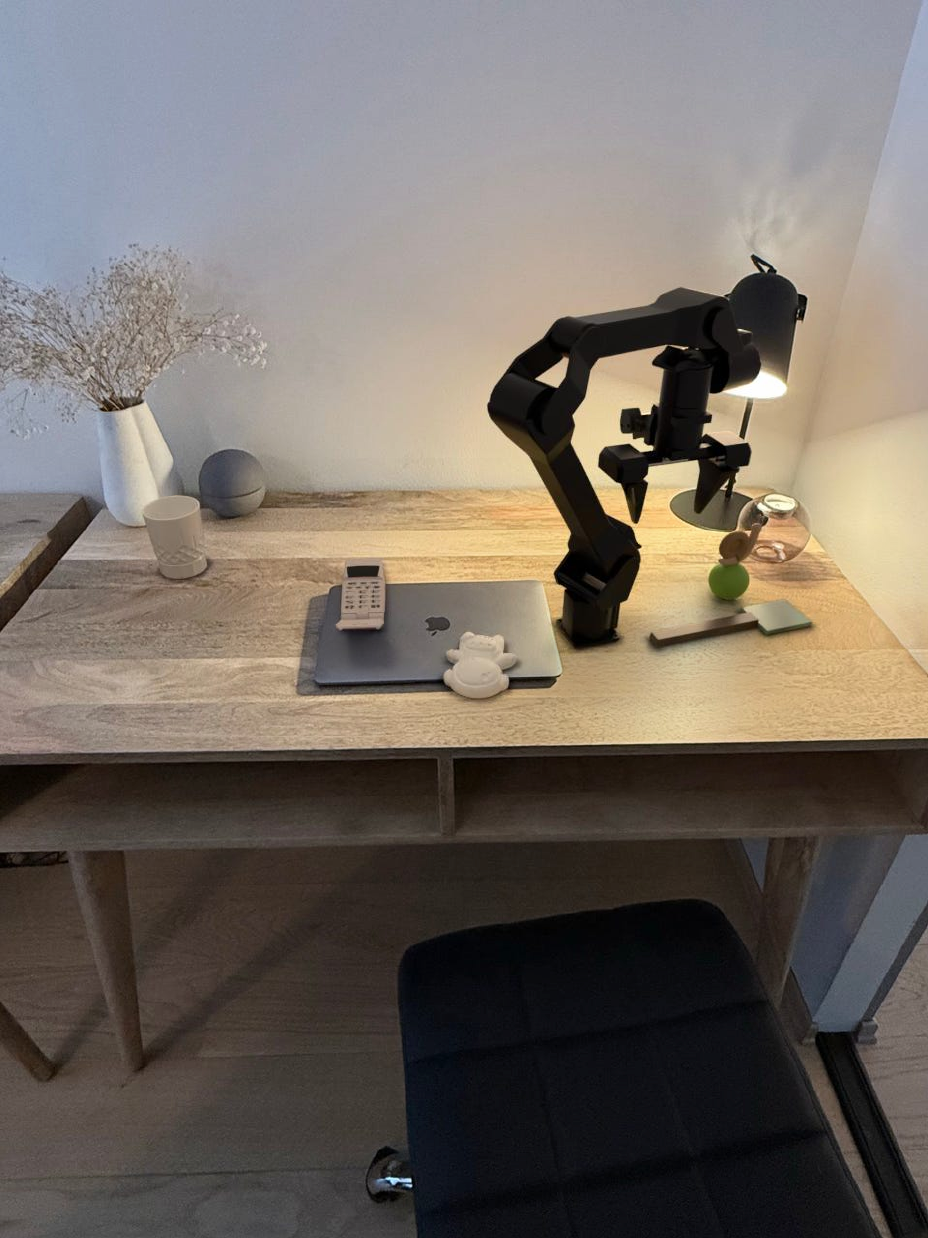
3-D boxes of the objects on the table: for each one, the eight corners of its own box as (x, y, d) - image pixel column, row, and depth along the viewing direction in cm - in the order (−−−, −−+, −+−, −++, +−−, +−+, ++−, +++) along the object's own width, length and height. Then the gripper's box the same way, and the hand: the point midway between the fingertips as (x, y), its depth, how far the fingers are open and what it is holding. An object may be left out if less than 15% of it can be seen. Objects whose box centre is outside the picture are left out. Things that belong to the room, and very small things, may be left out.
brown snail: (759, 600, 115) (777, 523, 109) (721, 610, 113) (737, 532, 106) (734, 582, 119) (750, 506, 113) (697, 591, 117) (711, 515, 111)
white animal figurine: (522, 646, 106) (523, 626, 104) (503, 703, 96) (504, 683, 95) (456, 636, 108) (456, 617, 106) (431, 692, 98) (430, 672, 97)
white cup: (145, 575, 121) (129, 514, 116) (179, 551, 127) (166, 491, 122) (189, 586, 119) (175, 523, 113) (222, 560, 125) (210, 500, 119)
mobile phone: (334, 628, 99) (342, 530, 120) (337, 667, 102) (344, 566, 123) (384, 626, 100) (383, 529, 120) (386, 665, 103) (385, 564, 124)
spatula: (664, 656, 104) (666, 648, 104) (642, 630, 109) (643, 623, 108) (811, 626, 110) (813, 618, 109) (783, 603, 115) (785, 595, 114)
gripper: (714, 373, 108) (696, 483, 117) (584, 388, 103) (575, 501, 112) (765, 401, 99) (741, 517, 108) (625, 417, 94) (612, 538, 103)
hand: (666, 517), depth 108 cm, fingers open, 9 cm apart
